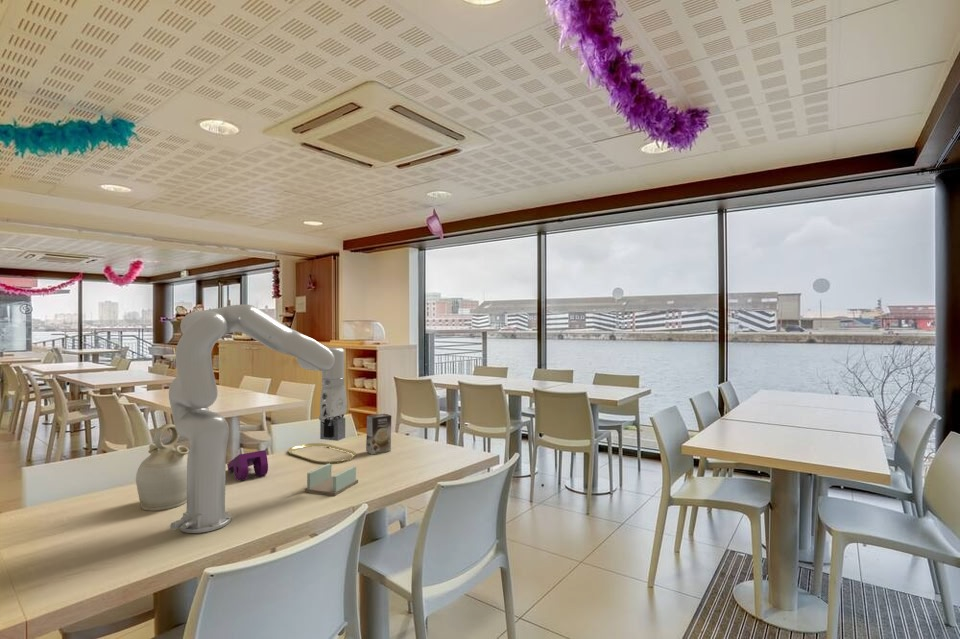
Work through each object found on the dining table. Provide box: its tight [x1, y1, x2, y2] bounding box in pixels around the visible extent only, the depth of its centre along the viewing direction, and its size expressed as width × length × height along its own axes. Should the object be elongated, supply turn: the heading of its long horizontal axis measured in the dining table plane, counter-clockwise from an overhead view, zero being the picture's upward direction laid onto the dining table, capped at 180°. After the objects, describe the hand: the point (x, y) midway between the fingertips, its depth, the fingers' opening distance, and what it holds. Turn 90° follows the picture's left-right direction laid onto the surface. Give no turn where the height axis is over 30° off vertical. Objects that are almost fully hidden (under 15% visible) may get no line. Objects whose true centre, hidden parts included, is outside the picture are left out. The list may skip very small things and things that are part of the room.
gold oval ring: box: [287, 442, 357, 464], centre depth 209 cm, size 19×35×2 cm, turn 52°
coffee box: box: [365, 413, 392, 455], centre depth 214 cm, size 9×6×16 cm
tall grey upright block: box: [319, 416, 346, 441], centre depth 168 cm, size 4×7×7 cm, turn 72°
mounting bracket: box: [226, 449, 269, 482], centre depth 181 cm, size 9×8×18 cm
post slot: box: [304, 463, 359, 497], centre depth 168 cm, size 14×12×6 cm
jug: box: [135, 423, 190, 512], centre depth 152 cm, size 15×16×25 cm
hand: (332, 434), depth 168 cm, fingers closed on tall grey upright block, 4 cm apart
